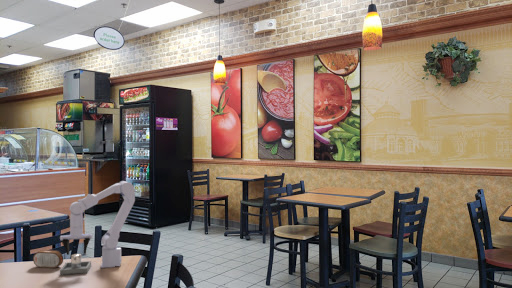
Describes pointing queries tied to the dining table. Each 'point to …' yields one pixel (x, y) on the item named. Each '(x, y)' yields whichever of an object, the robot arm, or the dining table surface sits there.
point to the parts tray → (68, 271)
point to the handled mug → (75, 261)
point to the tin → (48, 259)
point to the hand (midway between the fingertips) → (76, 253)
